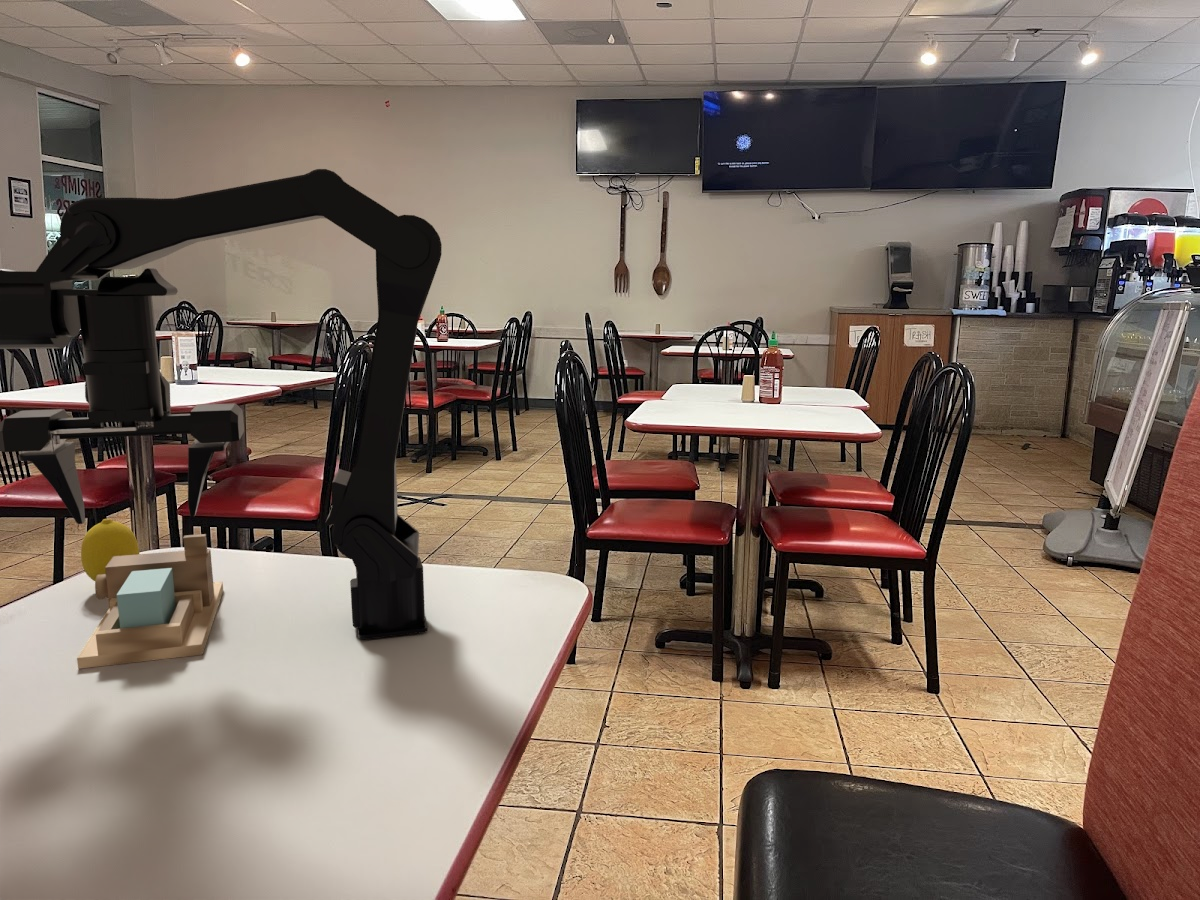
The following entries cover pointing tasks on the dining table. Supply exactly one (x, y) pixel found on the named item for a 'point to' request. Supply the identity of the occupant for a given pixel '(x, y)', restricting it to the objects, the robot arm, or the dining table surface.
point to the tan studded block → (186, 567)
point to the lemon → (106, 546)
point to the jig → (153, 634)
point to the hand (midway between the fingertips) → (138, 519)
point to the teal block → (146, 598)
